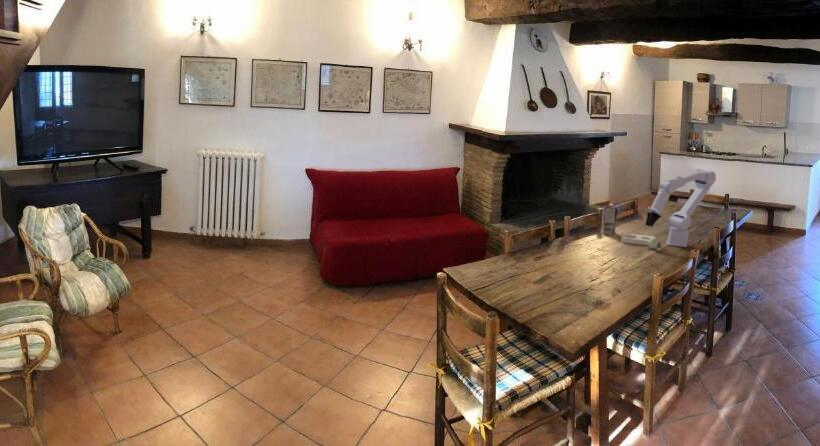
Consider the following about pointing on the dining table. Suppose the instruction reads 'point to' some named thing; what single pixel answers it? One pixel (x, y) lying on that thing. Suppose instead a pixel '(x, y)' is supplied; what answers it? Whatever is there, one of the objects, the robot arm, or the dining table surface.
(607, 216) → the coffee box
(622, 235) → the socket block
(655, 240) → the sleeve
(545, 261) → the dining table surface
